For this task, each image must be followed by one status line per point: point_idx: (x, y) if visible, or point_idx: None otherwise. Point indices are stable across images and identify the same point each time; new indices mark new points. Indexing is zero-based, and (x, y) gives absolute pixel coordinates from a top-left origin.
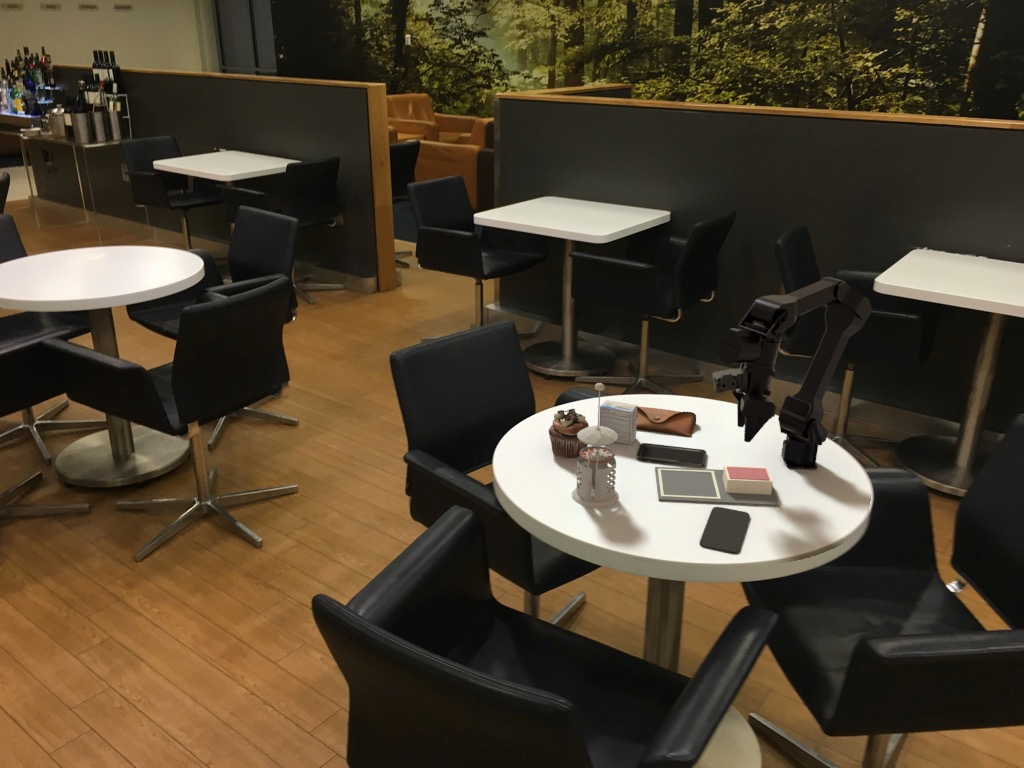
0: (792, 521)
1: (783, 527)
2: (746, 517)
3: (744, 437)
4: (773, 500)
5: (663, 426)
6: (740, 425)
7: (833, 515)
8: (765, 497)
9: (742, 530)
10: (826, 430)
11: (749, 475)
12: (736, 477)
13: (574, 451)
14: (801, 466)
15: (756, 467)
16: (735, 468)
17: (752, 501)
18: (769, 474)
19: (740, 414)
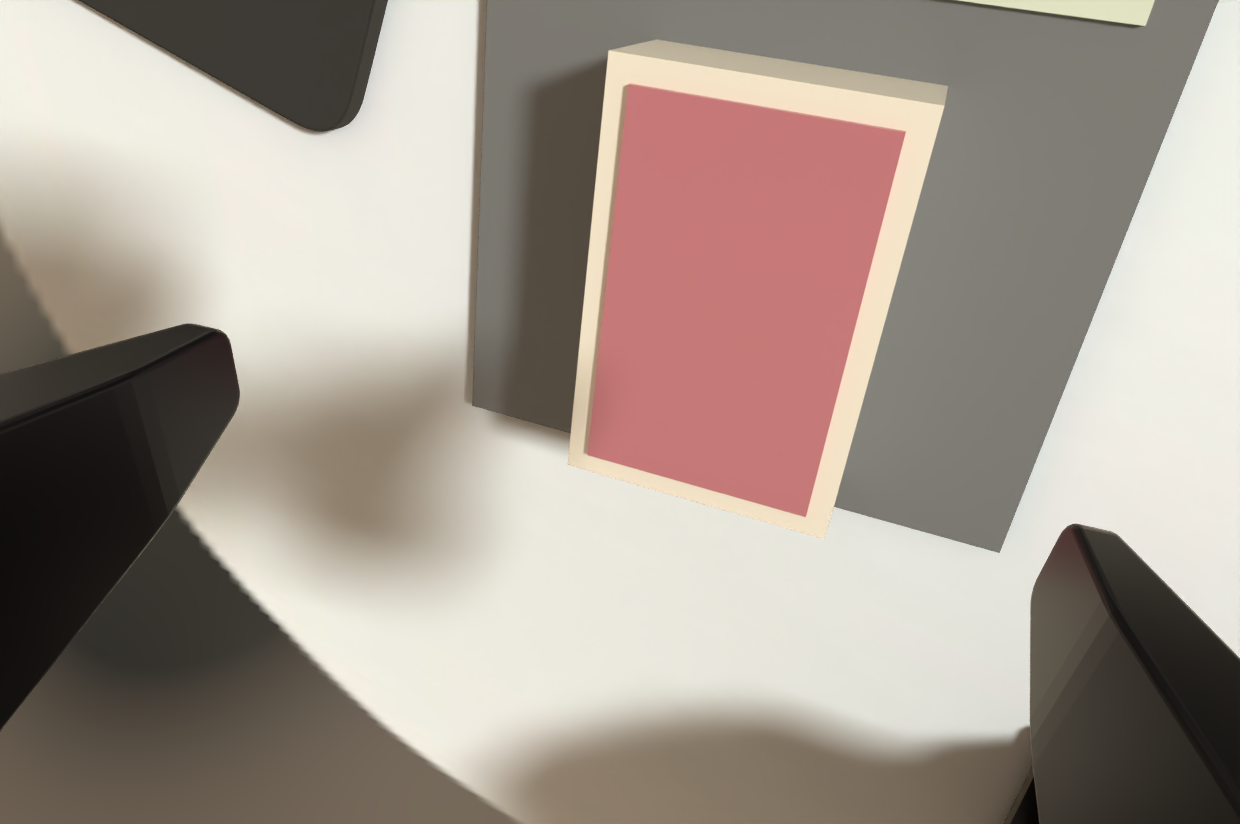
0: (315, 396)
1: (243, 312)
2: (274, 91)
3: (134, 343)
4: (527, 390)
5: None
6: (1052, 575)
7: (405, 638)
8: (568, 352)
9: (116, 1)
10: None
11: (671, 312)
12: (634, 162)
13: None
14: (1017, 815)
15: (849, 449)
16: (843, 223)
17: (510, 228)
18: (695, 498)
19: (1148, 765)
